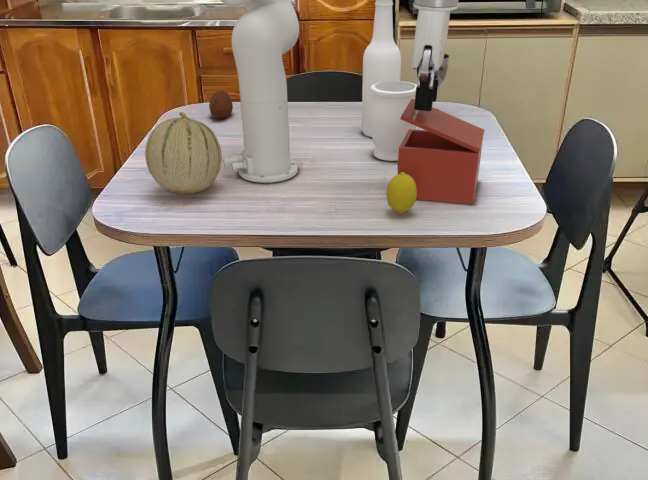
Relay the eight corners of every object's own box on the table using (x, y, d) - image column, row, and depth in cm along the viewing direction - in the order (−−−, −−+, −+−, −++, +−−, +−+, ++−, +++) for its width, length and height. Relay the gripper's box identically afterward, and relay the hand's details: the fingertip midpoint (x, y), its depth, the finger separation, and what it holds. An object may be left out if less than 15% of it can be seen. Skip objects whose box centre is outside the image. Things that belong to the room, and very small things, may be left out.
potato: (206, 123, 175) (204, 97, 172) (213, 110, 185) (211, 85, 181) (230, 122, 175) (227, 97, 171) (235, 110, 185) (233, 85, 181)
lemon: (381, 210, 128) (382, 169, 123) (408, 206, 129) (410, 165, 125) (392, 221, 123) (394, 179, 119) (420, 217, 125) (423, 175, 120)
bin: (396, 197, 133) (398, 147, 127) (405, 176, 142) (408, 128, 136) (472, 204, 129) (478, 153, 124) (477, 182, 139) (483, 133, 133)
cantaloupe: (155, 210, 130) (142, 131, 121) (148, 183, 141) (136, 109, 133) (231, 200, 133) (223, 123, 124) (218, 174, 145) (211, 102, 136)
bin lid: (399, 119, 124) (411, 89, 121) (410, 101, 133) (421, 74, 130) (478, 153, 124) (492, 124, 120) (482, 133, 133) (496, 106, 129)
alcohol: (395, 139, 162) (402, -1, 145) (359, 137, 163) (361, -1, 146) (398, 128, 169) (405, -7, 152) (363, 126, 170) (366, -7, 153)
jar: (412, 164, 148) (417, 93, 139) (365, 162, 149) (367, 91, 141) (416, 148, 156) (421, 80, 147) (372, 146, 158) (374, 79, 149)
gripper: (422, -10, 124) (412, 92, 135) (406, 4, 111) (397, 116, 121) (463, -8, 123) (450, 95, 133) (452, 7, 109) (439, 120, 120)
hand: (425, 104), depth 127 cm, fingers closed on bin lid, 5 cm apart
